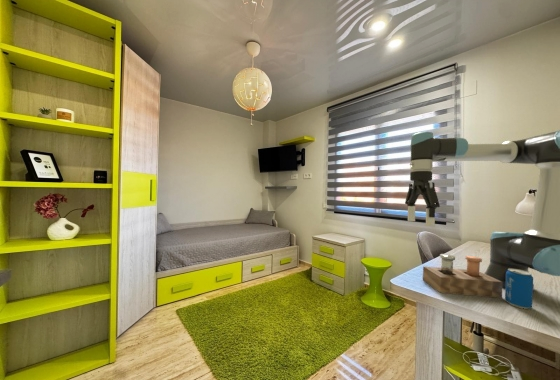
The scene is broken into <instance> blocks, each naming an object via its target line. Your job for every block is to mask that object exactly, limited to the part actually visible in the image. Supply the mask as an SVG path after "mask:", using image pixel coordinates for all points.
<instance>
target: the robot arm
mask: <svg viewBox="0 0 560 380" xmlns="http://www.w3.org/2000/svg"><path fill="white" fill-rule="evenodd" d="M433 162H501V163H502V164H522V165H524V164H525V165H534V166H535V167H537V169H539V170H540V171H539V175H538V182H537V188H536V193H535V199H534V205H533V211H532V216H531V222H530V227H529V229H528V230H526V231H524V232H507V231H493V232H491V235H490V239H489V240H490V249H489V251H490V252H489V253H490V254H489V264H488V266H487V268H486V271H485V272H483V273H484V274H486V275H488V276H490V277H493V278H495V279H497V280H499V281H501V282H503V284H502V288H504V289H505V287H506V272H507V271H508V269H518V270H523V271H527V272H529V273H530V271H529V269H531V270H534V271H537V272H538V273H541V274H546V275H549V276H554V277H560V129H559V130H556V131H552V132H548V133H544V134H541V135H540V134H539V135H535V136H532V137H527V138H522V139H519V140H507V141H504V142H503V143H469V141H468V140H467V139H466V138H463V137H434V134H433V132H432V131H420V132H417V133H414V134H412V136H411V139H410V163H409V165H410V171H411V172H410V173H409V180H410V182H413V183H409V185H408V189H407V190H408V191H407V193H406V198H405V202H404V203H405V205H406V206H407V222H416V206H417V205H416V203H417V201H418V198H419V196H420V195H421V196H422V198H423V200H424V202H425V205H426V207H425V226H426V227H435V224H436V222H435V221H436V209H437V208H440V207H441V204H440V201H439V198H438V195H437V192H436V191H437V190H436V187H435V182H431V181H433V172H432V170H433ZM534 291H535V284H534V283H533V292H534Z"/></svg>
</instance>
